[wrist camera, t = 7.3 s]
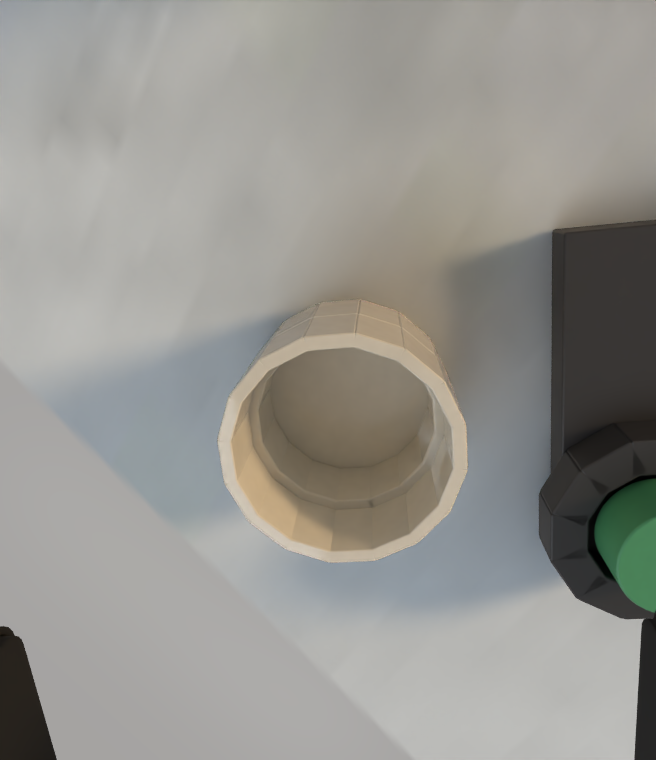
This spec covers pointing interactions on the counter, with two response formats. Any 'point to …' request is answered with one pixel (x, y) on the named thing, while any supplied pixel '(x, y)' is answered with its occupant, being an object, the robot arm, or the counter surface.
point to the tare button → (631, 540)
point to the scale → (599, 396)
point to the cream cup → (344, 434)
